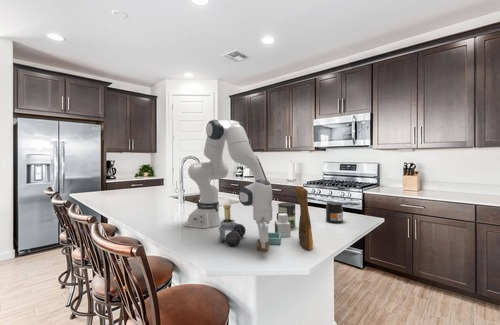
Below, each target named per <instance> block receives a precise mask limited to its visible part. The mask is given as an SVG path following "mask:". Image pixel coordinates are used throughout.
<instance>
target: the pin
mask: <svg viewBox="0 0 500 325" xmlns="http://www.w3.org/2000/svg"><path fill="white" fill-rule="evenodd" d="M231 207H232V205H231V204H224V205H223V208H224V210H223V211H224V212H223V213H224V219H225V222H231V220H232V219H231Z"/></svg>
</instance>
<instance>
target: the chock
mask: <svg viewBox="0 0 500 325" xmlns="http://www.w3.org/2000/svg"><path fill="white" fill-rule="evenodd" d="M269 246H270V244H269V239H268V242H266V244H265V248H261V242H260V238H258V239H257V241H256V251H261V252H262V251H263V252H268V251H269Z"/></svg>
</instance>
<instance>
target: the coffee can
mask: <svg viewBox="0 0 500 325" xmlns="http://www.w3.org/2000/svg"><path fill="white" fill-rule="evenodd" d="M277 208H278V209H277V213H280V212H285V213H287V214H288V222H289V223H290V231H292V230H293V231H294V230H296V203H293V202H280V203H278V204H277Z"/></svg>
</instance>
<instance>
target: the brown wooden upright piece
mask: <svg viewBox="0 0 500 325" xmlns="http://www.w3.org/2000/svg"><path fill="white" fill-rule="evenodd" d="M294 190H295V193H296V195H297V196H296V197H297V200H298V203H299V209H300V211H299V212H300V213H299V214H300V215H299V221H298V222H299V223H298V240H299V243H300V246H301V248H302V249H303V250H305V251H311V250H312V249H313V248H314V240H313V232H312V223H311V216H310V212H309V204H308V201H309V199H308V192H309V191H308V189H306V188H304V187H301V186H298V185H296V186H295V187H294Z"/></svg>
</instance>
